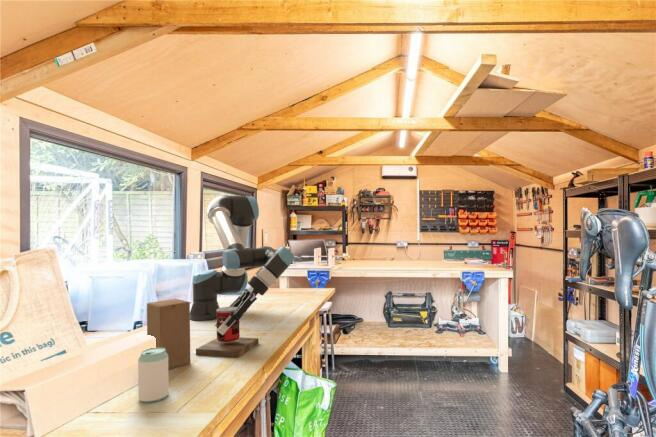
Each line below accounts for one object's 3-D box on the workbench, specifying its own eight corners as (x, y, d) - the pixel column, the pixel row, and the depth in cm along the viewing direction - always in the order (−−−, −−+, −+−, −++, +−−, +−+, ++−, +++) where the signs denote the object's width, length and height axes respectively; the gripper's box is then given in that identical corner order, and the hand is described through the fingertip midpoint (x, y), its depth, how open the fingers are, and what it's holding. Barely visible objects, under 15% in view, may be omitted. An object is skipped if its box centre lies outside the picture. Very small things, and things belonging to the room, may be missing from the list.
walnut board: (220, 341, 145) (220, 336, 145) (258, 343, 141) (258, 338, 141) (195, 354, 130) (195, 348, 130) (237, 357, 125) (237, 351, 125)
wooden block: (191, 363, 121) (190, 301, 122) (159, 372, 114) (159, 306, 114) (177, 356, 128) (176, 298, 129) (146, 365, 121) (146, 302, 121)
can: (165, 402, 94) (164, 353, 94) (134, 405, 92) (134, 356, 92) (171, 390, 100) (170, 345, 101) (142, 393, 99) (142, 347, 99)
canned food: (215, 338, 137) (215, 308, 138) (237, 335, 141) (237, 305, 141) (218, 343, 130) (217, 311, 131) (241, 340, 134) (240, 309, 134)
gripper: (275, 291, 132) (229, 344, 126) (263, 284, 151) (222, 329, 145) (260, 277, 131) (213, 330, 124) (249, 272, 149) (208, 317, 143)
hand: (218, 329), depth 134 cm, fingers closed on canned food, 8 cm apart
